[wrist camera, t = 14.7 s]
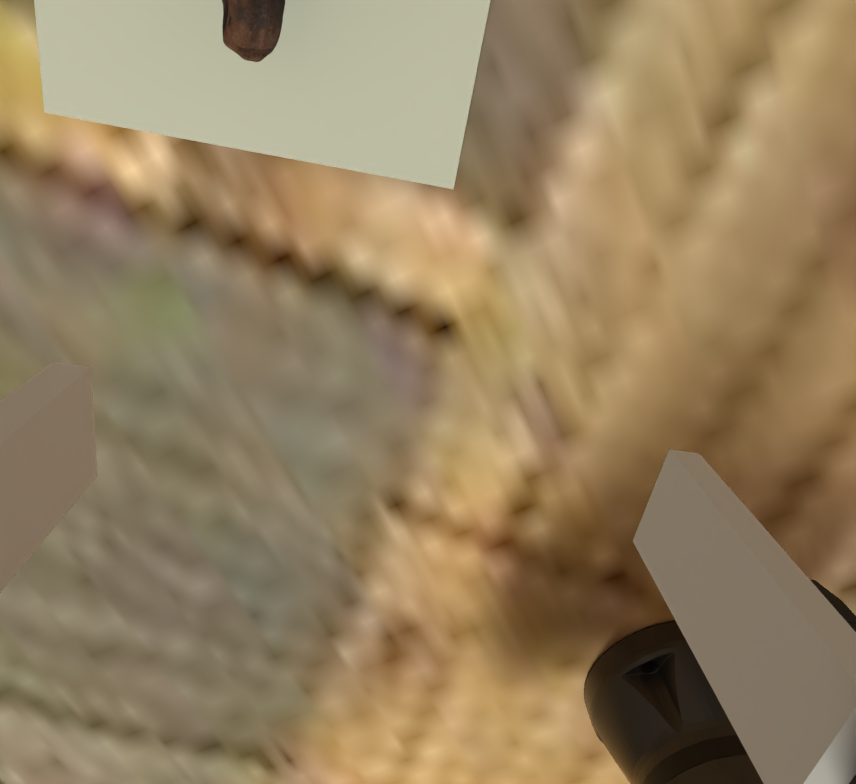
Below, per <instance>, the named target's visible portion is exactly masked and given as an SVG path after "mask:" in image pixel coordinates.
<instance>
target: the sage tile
mask: <svg viewBox="0 0 856 784" xmlns="http://www.w3.org/2000/svg"><path fill="white" fill-rule="evenodd" d="M34 3H35V15H36V26H37V37H38V48H39V59H40V70H41V81H42V92H43V104H44V113H49V114H55V115H60V116H65V117H71V118H76V119H81V120H87V121H92V122H97V123H103V124H108V125H113V126H119V127H124V128H129V129H135V130H140V131H145V132H151V133H156V134H161V135H167V136H172V137H177V138H183V139H188V140H193V141H199V142H204V143H209V144H215V145H220V146H225V147H231V148H236V149H241V150H247V151H252V152H257V153H263V154H268V155H273V156H279V157H284V158H289V159H295V160H300V161H305V162H311V163H316V164H321V165H327V166H332V167H337V168H343V169H348V170H353V171H359V172H364V173H369V174H375V175H380V176H385V177H391V178H396V179H401V180H407V181H412V182H417V183H423V184H428V185H433V186H439V187H444V188H449V189H454V184H455V179H456V174H457V169H458V163H459V158H460V153H461V148H462V143H463V138H464V133H465V128H466V123H467V117H468V112H469V107H470V102H471V97H472V92H473V87H474V82H475V77H476V71H477V66H478V61H479V56H480V51H481V46H482V41H483V36H484V30H485V25H486V20H487V15H488V10H489V5H490V0H285V8H284V13H283V22H282V28H281V33H280V37H279V40H278V43H277V45H276V47H275V48H274V50H273V51H272V52H271V53H270V54H269V55H267V56H266V57H265V58H264V59H263V60H261V61H260V62H253V61H247V60H244V59H242V58H241V57H240V56H239V55H238V54H237V53H235V52H234V51H232V50H231V49H229V48H228V47H227V46H226V45H225V44H224V42H223V29H222V25H223V3H222V0H34Z"/></svg>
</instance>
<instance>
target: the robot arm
mask: <svg viewBox="0 0 856 784" xmlns="http://www.w3.org/2000/svg"><path fill="white" fill-rule="evenodd" d="M96 477H97V461H96V443H95V426H94V408H93V391H92V373H91V367H86V366H79V365H72V364H65V363H58V362H52V363H51V364H50V365H48V366H47V367H45V368H44V369H43V370H41V371H40V372H39V373H37V374H36V375H34V376H33V377H32V378H30V379H29V380H27V381H26V382H25V383H23V384H22V385H21V386H19V387H18V388H16V389H15V390H14V391H12V392H11V393H10V394H8V395H7V396H5V397H4V398H3V399H1V400H0V593H1V591H2V590H3V589H4V588H5V587H6V585H7V584H8V583H9V582H10V581H11V579H12V578H13V577H14V576H15V574H16V573H17V572H18V571H19V570H20V568H21V567H22V566H23V565H24V564H25V562H26V561H27V560H28V559H29V558H30V556H31V555H32V554H33V553H34V552H35V550H36V549H37V548H38V547H39V545H40V544H41V543H42V542H43V541H44V539H45V538H46V537H47V536H48V535H49V533H50V532H51V531H52V530H53V529H54V527H55V526H56V525H57V524H58V523H59V521H60V520H61V519H62V518H63V517H64V515H65V514H66V513H67V512H68V510H69V509H70V508H71V507H72V506H73V504H74V503H75V502H76V501H77V500H78V498H79V497H80V496H81V495H82V494H83V492H84V491H85V490H86V489H87V488H88V486H89V485H90V484H91V483H92V482H93V480H94V479H95V478H96ZM633 543H634V545H635V547H636V548H637V550H638V552H639V554H640V556H641V558H642V560H643V561H644V563H645V565H646V567H647V569H648V571H649V572H650V574H651V576H652V578H653V580H654V582H655V584H656V585H657V587H658V589H659V591H660V593H661V595H662V597H663V598H664V600H665V602H666V604H667V606H668V608H669V609H670V611H671V613H672V615H673V617H674V619H675V621H676V622H670V623H665V624H660V625H656V626H653V627H650V628H647V629H644V630H642V631H639V632H637V633H635V634H633V635H631V636H629V637H627V638H625V639H624V640H622V641H620V642H619V643H617V644H616V645H614V646H613V647H612V648H611V649H609V650H608V651H607V652H606V653H605V654H604V655H603V656H602V657H601V658H600V659H599V660H598V661H597V662H596V664H595V665H594V666H593V668H592V670H591V671H590V673H589V675H588V677H587V680H586V683H585V688H584V699H585V704H586V707H587V710H588V714H589V717H590V720H591V723H592V726H593V728H594V730H595V733H596V734H597V736H598V738H599V739H600V740H601V741H602V742H603V744H604V745H605V746H606V748H607V749H608V751H609V752H610V754H611V755H612V757H613V758H614V760H615V762H616V763H617V765H618V766H619V768H620V769H621V770H622V772H623V773H624V775H625V776H626V778H627V779H628V781H629V782H630V783H631V784H856V616H855V615H854V614H853V613H852V612H851V610H850V609H849V608H848V607H847V606H846V605H845V604H844V603H843V602H842V601H841V600H840V599H839V598H837V597H836V596H835V595H833V594H832V593H831V592H830V591H828V590H827V589H826V588H824V587H823V586H822V585H820V584H819V583H818V582H816V581H815V580H810V579H809V578H808V577H807V576H806V575H805V574H804V572H803V571H802V570H801V569H800V568H799V567H798V566H797V564H796V563H795V562H794V561H793V560H792V559H791V558H790V556H789V555H788V554H787V553H786V552H785V551H784V550H783V548H782V547H781V546H780V545H779V544H778V543H777V542H776V540H775V539H774V538H773V537H772V536H771V535H770V534H769V532H768V531H767V530H766V529H765V528H764V527H763V526H762V524H761V523H760V522H759V521H758V520H757V519H756V518H755V516H754V515H753V514H752V513H751V512H750V511H749V510H748V508H747V507H746V506H745V505H744V504H743V503H742V502H741V500H740V499H739V498H738V497H737V496H736V495H735V493H734V492H733V491H732V490H731V489H730V488H729V487H728V485H727V484H726V483H725V482H724V481H723V480H722V479H721V477H720V476H719V475H718V474H717V473H716V472H715V471H714V469H713V468H712V467H711V466H710V465H709V464H708V463H707V461H706V460H705V459H704V458H703V457H702V456H701V455H700V453H693V452H686V451H679V450H672V449H669V451H668V454H667V456H666V459H665V461H664V464H663V466H662V469H661V471H660V474H659V476H658V479H657V481H656V484H655V486H654V489H653V491H652V494H651V496H650V499H649V501H648V504H647V506H646V509H645V511H644V514H643V516H642V519H641V521H640V524H639V526H638V529H637V531H636V534H635V536H634V539H633Z"/></svg>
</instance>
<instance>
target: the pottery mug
mask: <svg viewBox="0 0 856 784" xmlns="http://www.w3.org/2000/svg"><path fill="white" fill-rule="evenodd" d="M222 3H223V25H222V29H223V42H224V44H225V45H226V46H227V47H228V48H229V49H231V50H232V51H234V52H235V53H237V54H238V55H239V56H240V57H241V58H242V59H244V60H247V61H253V62H260V61H261V60H263V59H264V58H265V57H266V56H267V55H269V54H270V53H271V52H272V51H273V50H274V48H275V47H276V45H277V43H278V40H279V37H280V33H281V28H282V22H283V13H284V8H285V0H222Z"/></svg>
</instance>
